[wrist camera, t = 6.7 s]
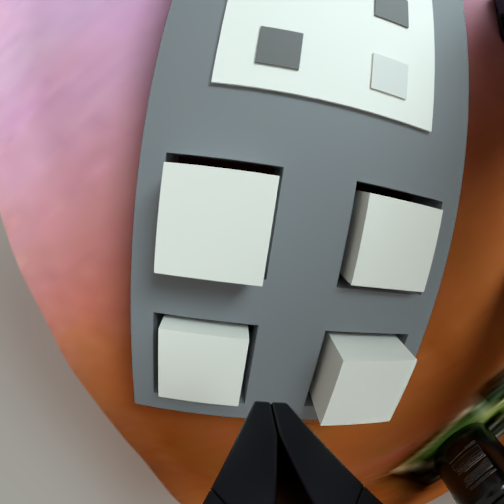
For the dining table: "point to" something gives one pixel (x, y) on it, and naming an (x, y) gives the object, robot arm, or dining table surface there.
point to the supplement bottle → (473, 466)
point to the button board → (301, 169)
